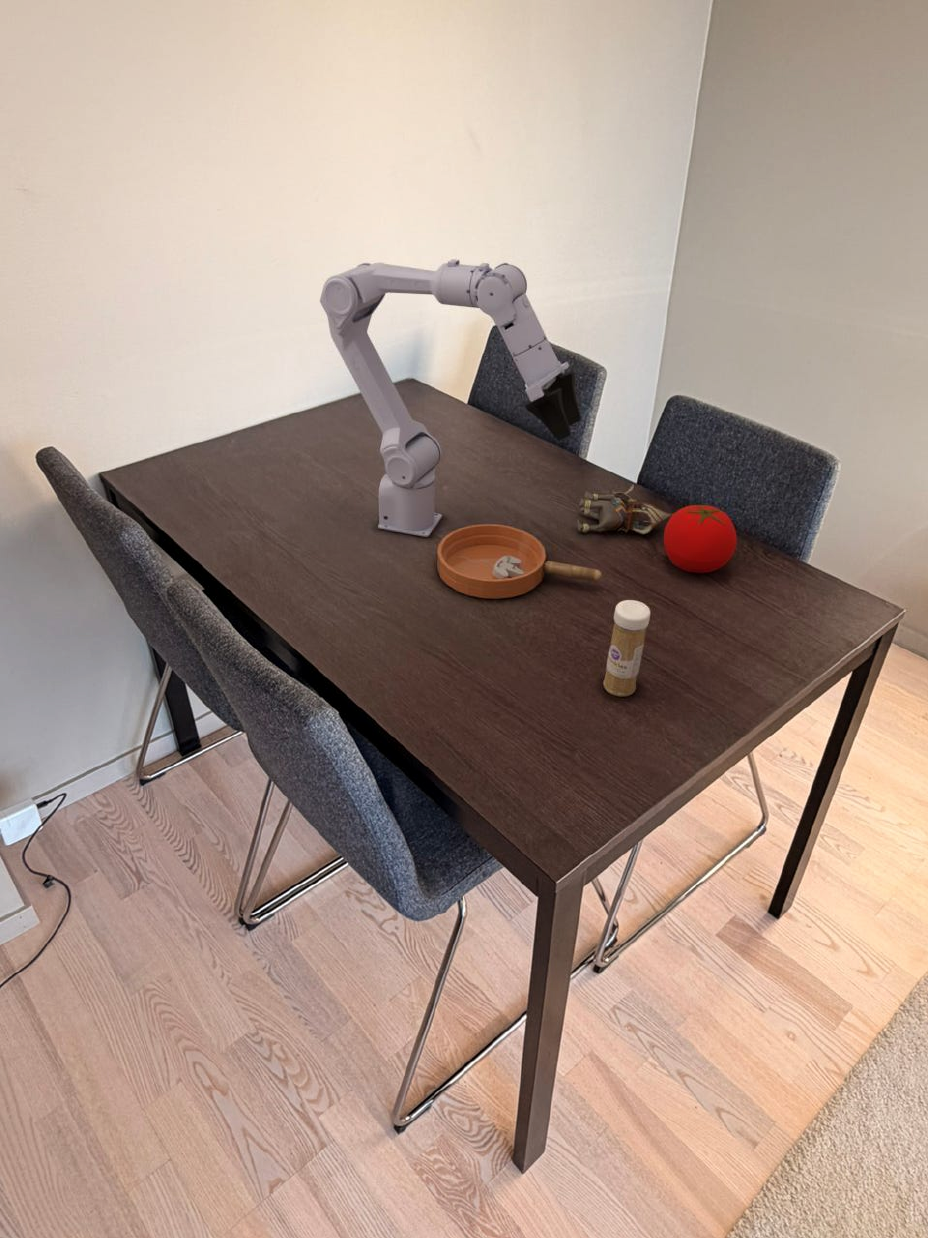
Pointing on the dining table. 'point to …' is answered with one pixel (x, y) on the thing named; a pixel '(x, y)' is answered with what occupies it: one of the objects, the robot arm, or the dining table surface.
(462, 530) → the pan
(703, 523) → the tomato
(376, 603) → the dining table surface
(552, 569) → the pan handle
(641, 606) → the sprinkles bottle
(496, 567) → the game controller
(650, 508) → the figurine
